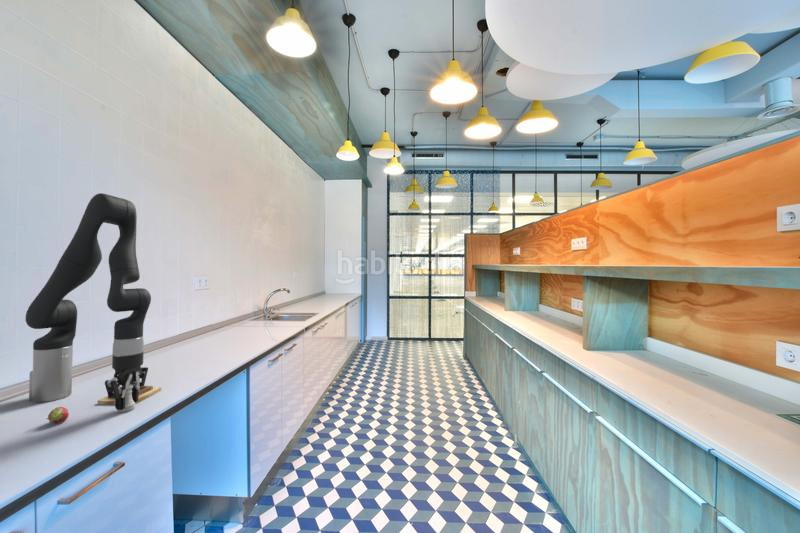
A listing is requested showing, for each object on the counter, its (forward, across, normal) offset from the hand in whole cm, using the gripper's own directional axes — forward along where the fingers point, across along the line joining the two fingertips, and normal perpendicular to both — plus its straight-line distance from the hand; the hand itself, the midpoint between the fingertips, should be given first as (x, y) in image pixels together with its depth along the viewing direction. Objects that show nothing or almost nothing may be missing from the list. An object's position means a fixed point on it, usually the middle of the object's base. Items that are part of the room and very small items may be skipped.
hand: (127, 405), depth 101 cm
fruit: (+2, +8, -13) cm, 15 cm away
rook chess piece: (+2, 0, 0) cm, 2 cm away
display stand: (+1, -10, -7) cm, 12 cm away
